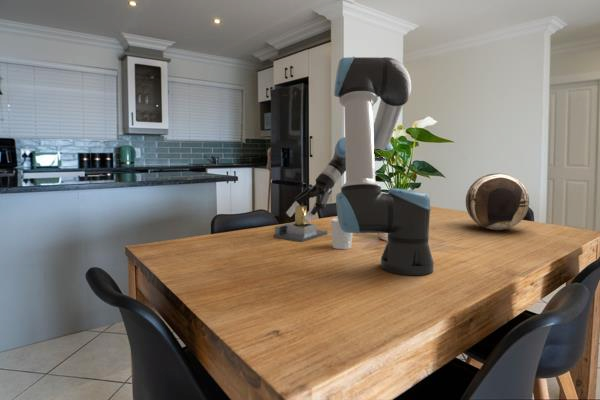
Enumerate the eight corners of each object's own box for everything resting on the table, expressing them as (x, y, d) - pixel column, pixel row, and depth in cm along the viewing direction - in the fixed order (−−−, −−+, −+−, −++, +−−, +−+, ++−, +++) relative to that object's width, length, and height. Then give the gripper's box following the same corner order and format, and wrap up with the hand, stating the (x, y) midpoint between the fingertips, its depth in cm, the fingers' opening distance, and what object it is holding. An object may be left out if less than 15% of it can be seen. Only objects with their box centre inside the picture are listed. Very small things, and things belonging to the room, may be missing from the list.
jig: (302, 241, 148) (302, 229, 148) (273, 237, 156) (273, 225, 156) (327, 234, 163) (327, 222, 162) (299, 229, 171) (299, 219, 170)
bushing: (302, 235, 155) (302, 207, 154) (292, 233, 157) (292, 206, 156) (308, 233, 159) (308, 206, 157) (299, 231, 161) (299, 205, 160)
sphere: (467, 233, 166) (470, 174, 163) (461, 223, 190) (464, 171, 187) (533, 237, 159) (538, 175, 156) (519, 226, 183) (523, 172, 180)
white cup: (327, 248, 139) (327, 220, 138) (335, 243, 146) (336, 217, 145) (348, 250, 136) (348, 222, 134) (356, 246, 142) (356, 219, 141)
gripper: (351, 187, 153) (319, 228, 147) (316, 182, 174) (287, 218, 168) (341, 174, 150) (308, 215, 144) (306, 171, 171) (276, 207, 165)
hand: (296, 217), depth 156 cm, fingers open, 13 cm apart
